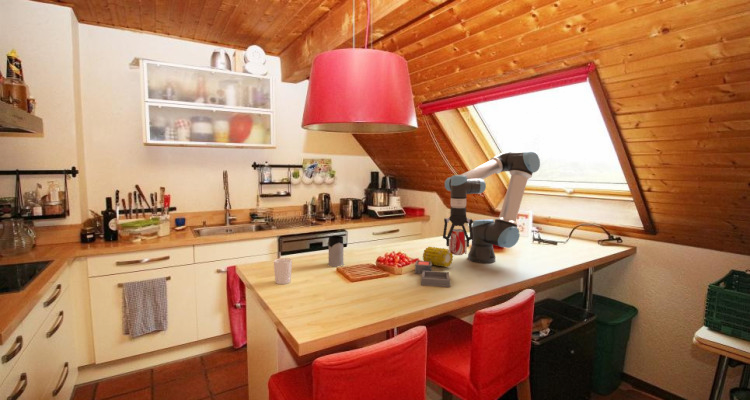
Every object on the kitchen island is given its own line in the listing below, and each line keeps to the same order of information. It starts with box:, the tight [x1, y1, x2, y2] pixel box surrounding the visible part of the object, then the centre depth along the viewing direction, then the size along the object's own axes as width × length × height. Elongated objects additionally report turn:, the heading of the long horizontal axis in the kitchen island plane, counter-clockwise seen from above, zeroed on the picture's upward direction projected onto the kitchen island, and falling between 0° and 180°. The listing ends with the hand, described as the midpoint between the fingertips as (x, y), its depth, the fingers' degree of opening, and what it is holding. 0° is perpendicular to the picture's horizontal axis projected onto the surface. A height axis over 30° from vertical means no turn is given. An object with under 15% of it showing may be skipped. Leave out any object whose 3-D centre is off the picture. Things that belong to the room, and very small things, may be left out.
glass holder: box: [327, 235, 345, 268], centre depth 193 cm, size 9×14×15 cm, turn 29°
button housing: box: [414, 260, 433, 275], centre depth 181 cm, size 8×8×4 cm
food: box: [422, 246, 454, 268], centre depth 192 cm, size 15×12×10 cm
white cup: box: [273, 257, 293, 285], centre depth 162 cm, size 8×8×10 cm
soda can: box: [449, 228, 466, 256], centre depth 177 cm, size 7×7×12 cm
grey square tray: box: [420, 270, 451, 288], centre depth 166 cm, size 13×13×3 cm
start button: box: [418, 262, 429, 265], centre depth 181 cm, size 5×5×3 cm
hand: (457, 252), depth 177 cm, fingers closed on soda can, 7 cm apart
